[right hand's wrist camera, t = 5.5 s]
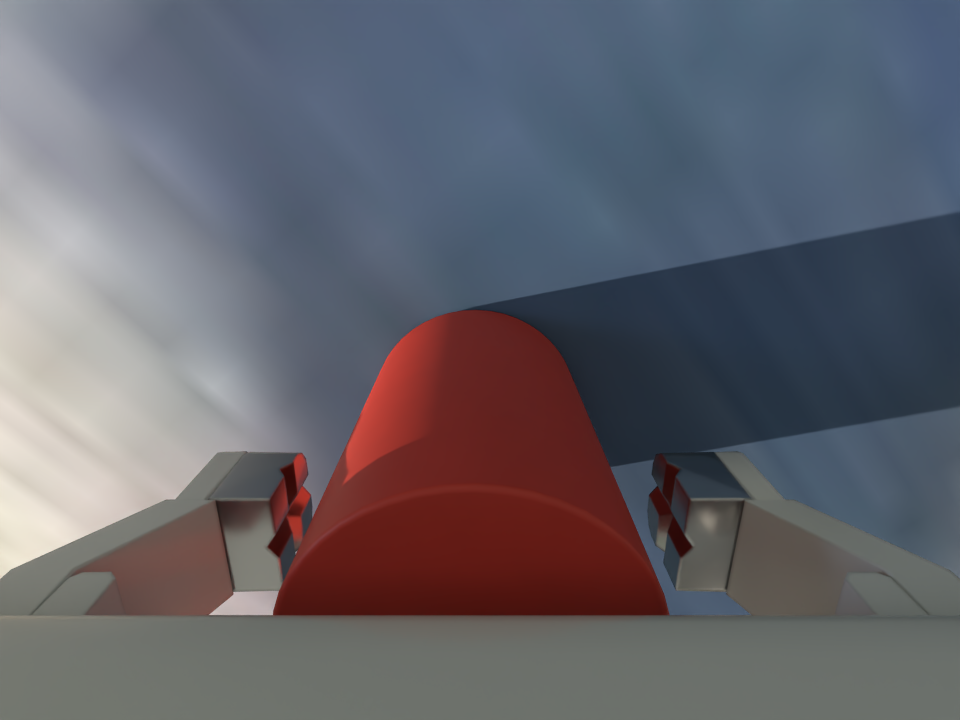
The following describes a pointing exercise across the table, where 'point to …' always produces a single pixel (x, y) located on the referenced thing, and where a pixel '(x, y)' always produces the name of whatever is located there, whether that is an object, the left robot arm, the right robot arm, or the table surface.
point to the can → (472, 490)
